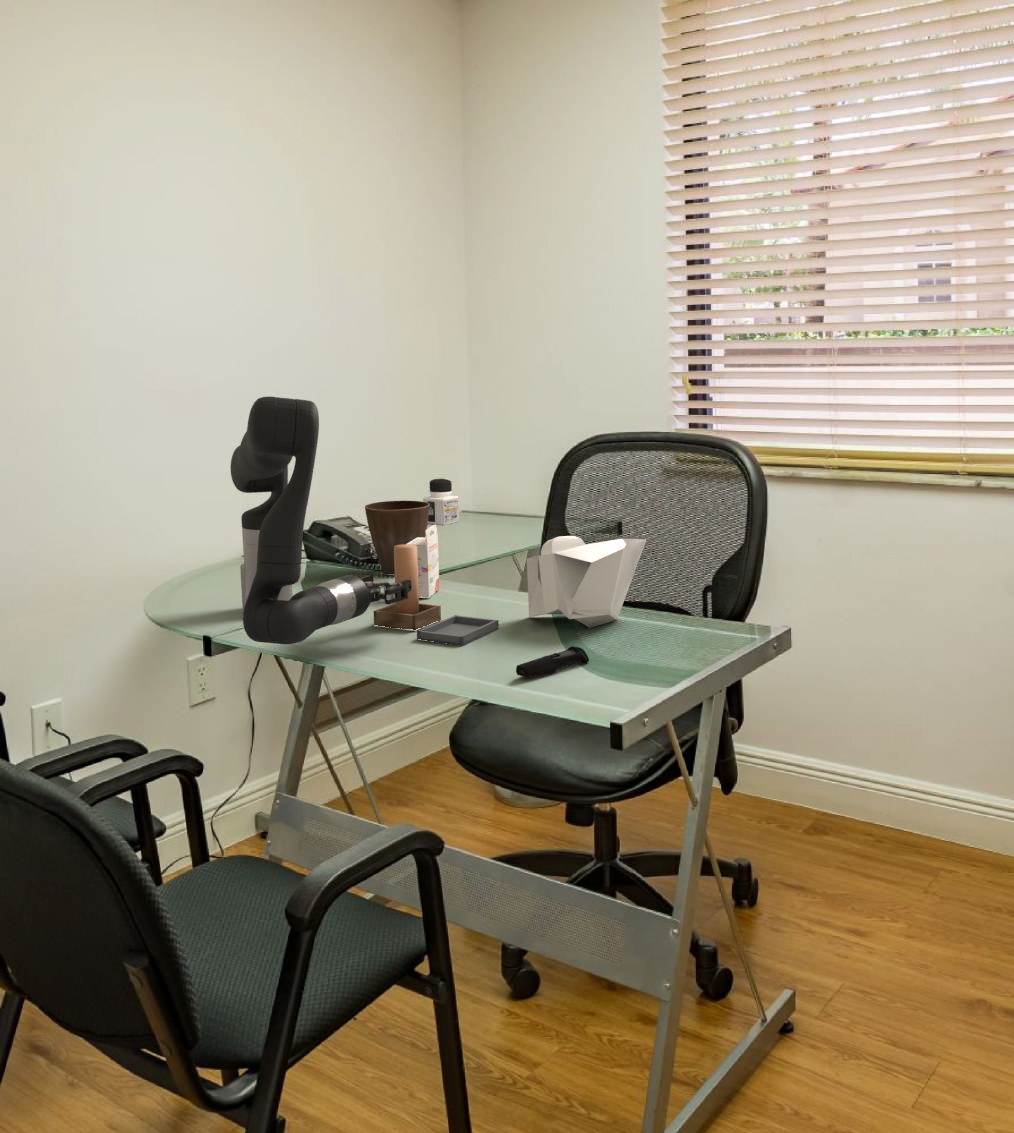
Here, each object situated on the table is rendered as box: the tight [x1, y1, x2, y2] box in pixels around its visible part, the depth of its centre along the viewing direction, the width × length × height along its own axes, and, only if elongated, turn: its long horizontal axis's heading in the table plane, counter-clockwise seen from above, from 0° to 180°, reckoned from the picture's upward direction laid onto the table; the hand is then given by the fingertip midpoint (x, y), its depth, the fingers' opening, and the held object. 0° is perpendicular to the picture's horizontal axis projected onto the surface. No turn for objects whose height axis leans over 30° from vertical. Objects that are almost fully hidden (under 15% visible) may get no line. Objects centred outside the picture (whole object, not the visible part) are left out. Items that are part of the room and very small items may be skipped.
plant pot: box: [364, 500, 430, 575], centre depth 265 cm, size 15×15×16 cm
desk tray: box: [416, 614, 499, 647], centre depth 209 cm, size 9×13×2 cm
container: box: [422, 478, 460, 526], centre depth 338 cm, size 8×8×13 cm
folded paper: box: [526, 535, 647, 629], centre depth 217 cm, size 17×24×17 cm
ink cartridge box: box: [407, 524, 440, 597], centre depth 242 cm, size 9×5×15 cm, turn 168°
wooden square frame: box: [373, 602, 442, 630], centre depth 218 cm, size 9×9×3 cm
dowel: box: [394, 544, 420, 615], centre depth 217 cm, size 4×4×15 cm
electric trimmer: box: [515, 645, 590, 678], centre depth 186 cm, size 4×16×3 cm, turn 136°
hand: (390, 582), depth 212 cm, fingers open, 8 cm apart
